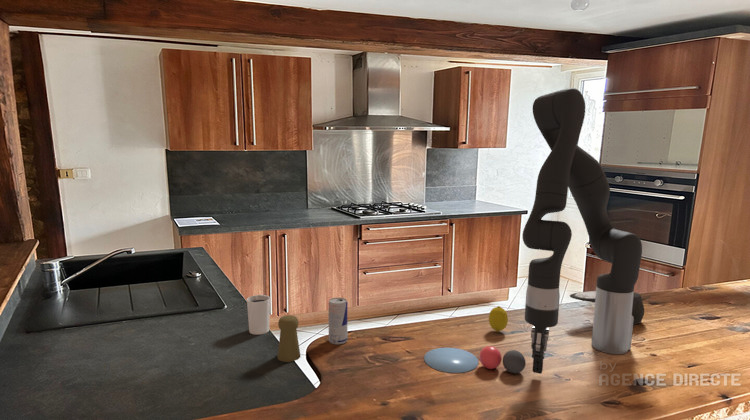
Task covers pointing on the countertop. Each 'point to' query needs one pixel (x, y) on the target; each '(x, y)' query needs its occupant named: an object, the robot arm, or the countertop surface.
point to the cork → (288, 339)
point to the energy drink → (338, 320)
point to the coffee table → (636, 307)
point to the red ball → (490, 357)
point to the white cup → (258, 314)
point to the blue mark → (451, 360)
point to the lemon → (498, 318)
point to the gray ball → (514, 361)
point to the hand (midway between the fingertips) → (537, 371)
